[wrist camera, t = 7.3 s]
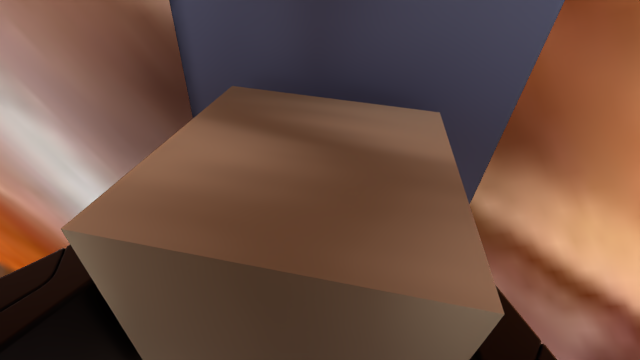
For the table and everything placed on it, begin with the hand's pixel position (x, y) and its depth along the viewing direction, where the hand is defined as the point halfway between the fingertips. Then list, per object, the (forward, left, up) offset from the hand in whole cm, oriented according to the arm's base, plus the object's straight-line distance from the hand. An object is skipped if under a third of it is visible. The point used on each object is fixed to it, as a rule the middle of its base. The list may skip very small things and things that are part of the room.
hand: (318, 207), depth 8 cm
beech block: (0, 0, -1) cm, 1 cm away
